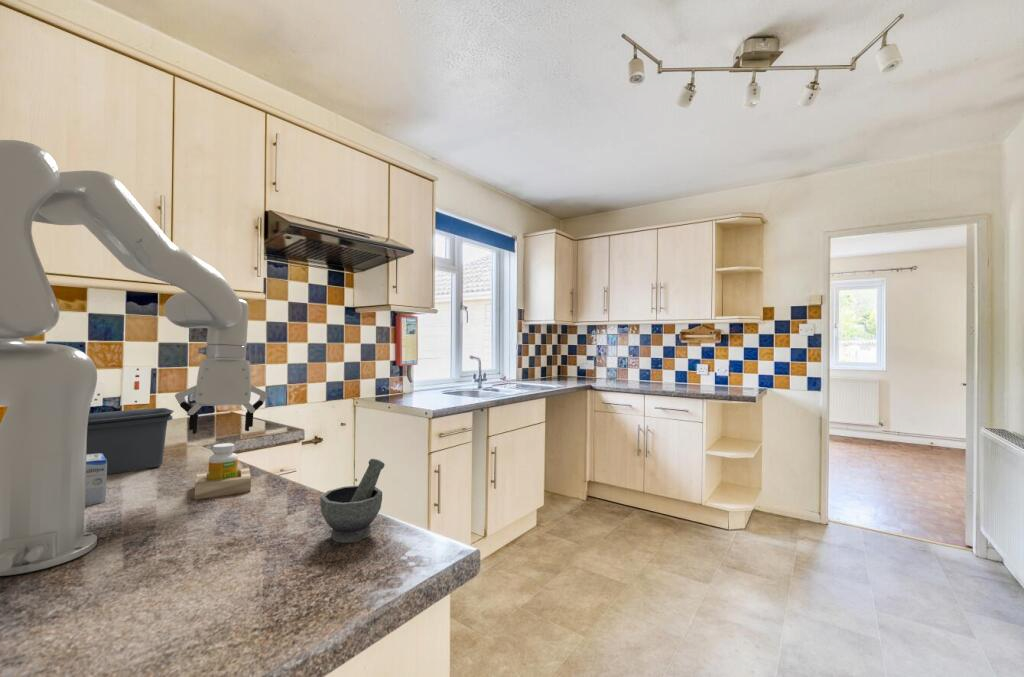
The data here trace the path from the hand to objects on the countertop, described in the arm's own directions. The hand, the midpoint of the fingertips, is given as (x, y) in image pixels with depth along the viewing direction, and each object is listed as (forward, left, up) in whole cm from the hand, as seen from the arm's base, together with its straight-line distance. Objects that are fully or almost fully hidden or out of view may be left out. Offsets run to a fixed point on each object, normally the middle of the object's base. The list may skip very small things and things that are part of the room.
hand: (221, 431), depth 99 cm
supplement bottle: (+1, -1, -13) cm, 13 cm away
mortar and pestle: (-38, -20, -13) cm, 45 cm away
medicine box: (+6, +22, -13) cm, 27 cm away
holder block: (+1, -1, -13) cm, 13 cm away
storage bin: (+32, +22, -13) cm, 41 cm away
